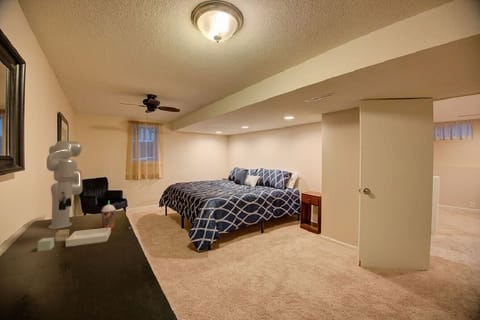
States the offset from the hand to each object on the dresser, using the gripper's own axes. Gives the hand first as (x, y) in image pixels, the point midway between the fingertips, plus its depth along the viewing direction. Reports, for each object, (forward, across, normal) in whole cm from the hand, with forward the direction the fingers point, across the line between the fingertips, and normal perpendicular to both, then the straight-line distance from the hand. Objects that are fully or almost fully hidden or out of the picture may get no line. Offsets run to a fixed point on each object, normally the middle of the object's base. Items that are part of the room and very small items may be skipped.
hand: (65, 208), depth 121 cm
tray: (+19, +6, +14) cm, 24 cm away
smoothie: (+19, -10, +21) cm, 30 cm away
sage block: (+19, +13, -4) cm, 23 cm away
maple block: (+19, 0, -1) cm, 19 cm away
